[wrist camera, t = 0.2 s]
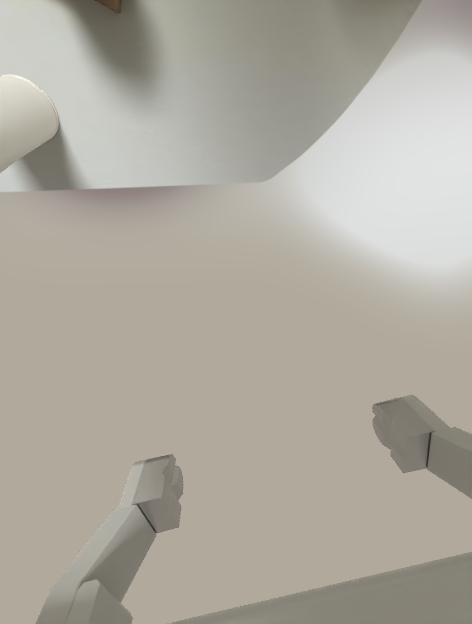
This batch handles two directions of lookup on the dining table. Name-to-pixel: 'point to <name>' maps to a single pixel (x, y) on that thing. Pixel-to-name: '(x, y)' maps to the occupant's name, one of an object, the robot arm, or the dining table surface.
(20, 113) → the spray can
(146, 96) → the dining table surface
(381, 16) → the dining table surface
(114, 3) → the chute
